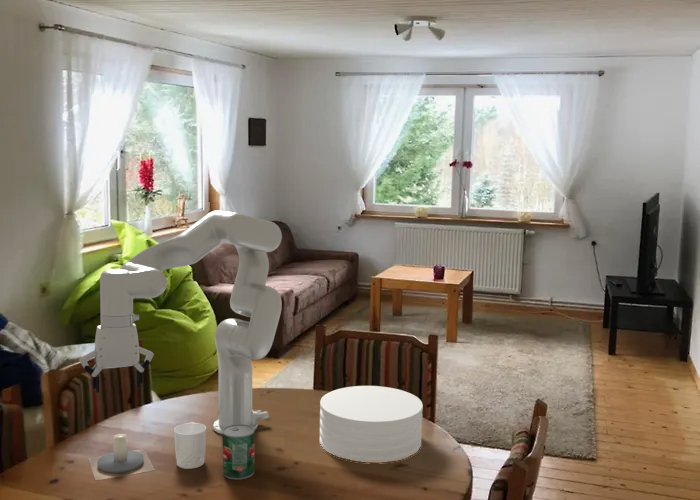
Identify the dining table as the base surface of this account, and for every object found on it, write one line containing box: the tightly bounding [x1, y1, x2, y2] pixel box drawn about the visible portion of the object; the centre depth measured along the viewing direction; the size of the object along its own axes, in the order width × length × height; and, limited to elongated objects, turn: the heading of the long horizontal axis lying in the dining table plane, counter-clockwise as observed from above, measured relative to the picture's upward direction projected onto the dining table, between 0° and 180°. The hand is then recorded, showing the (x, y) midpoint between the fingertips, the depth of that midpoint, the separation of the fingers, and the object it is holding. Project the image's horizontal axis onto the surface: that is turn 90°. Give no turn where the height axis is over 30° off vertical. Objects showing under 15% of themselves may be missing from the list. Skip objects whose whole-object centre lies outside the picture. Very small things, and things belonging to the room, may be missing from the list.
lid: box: [97, 433, 144, 474], centre depth 185 cm, size 11×11×7 cm
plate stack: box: [319, 385, 424, 462], centre depth 205 cm, size 28×28×12 cm
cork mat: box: [87, 448, 156, 481], centre depth 186 cm, size 14×14×1 cm
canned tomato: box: [221, 424, 256, 480], centre depth 184 cm, size 8×8×11 cm
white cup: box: [173, 422, 207, 470], centre depth 187 cm, size 8×8×10 cm
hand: (117, 388), depth 183 cm, fingers open, 9 cm apart
